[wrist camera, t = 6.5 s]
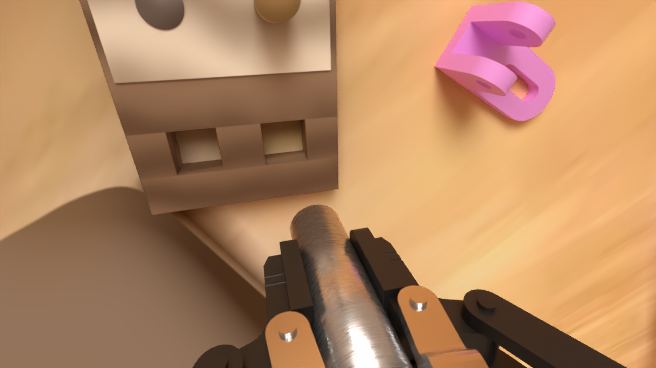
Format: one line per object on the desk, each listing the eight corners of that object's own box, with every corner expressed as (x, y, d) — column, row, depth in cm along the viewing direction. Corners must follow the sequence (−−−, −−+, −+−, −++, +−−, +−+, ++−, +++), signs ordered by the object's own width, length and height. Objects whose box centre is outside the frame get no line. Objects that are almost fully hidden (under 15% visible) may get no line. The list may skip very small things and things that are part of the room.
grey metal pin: (288, 208, 14) (340, 432, 6) (339, 201, 15) (447, 401, 7) (292, 250, 15) (341, 486, 7) (339, 242, 16) (433, 455, 8)
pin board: (68, -86, 19) (-30, -149, 12) (325, -77, 22) (360, -124, 15) (159, 200, 28) (132, 254, 21) (332, 177, 31) (355, 218, 24)
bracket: (433, 66, 29) (484, 76, 23) (470, 6, 27) (535, -1, 21) (518, 126, 34) (577, 147, 28) (553, 78, 32) (624, 90, 26)
